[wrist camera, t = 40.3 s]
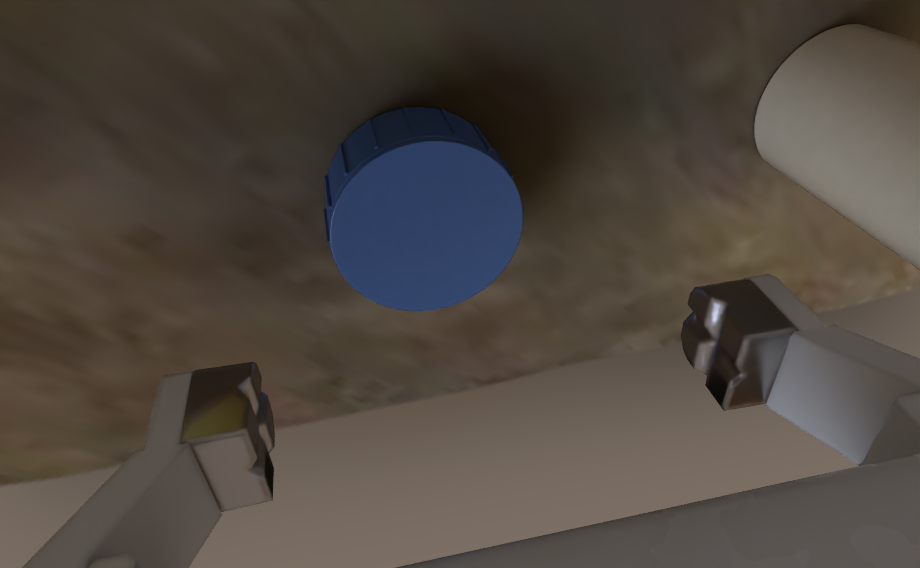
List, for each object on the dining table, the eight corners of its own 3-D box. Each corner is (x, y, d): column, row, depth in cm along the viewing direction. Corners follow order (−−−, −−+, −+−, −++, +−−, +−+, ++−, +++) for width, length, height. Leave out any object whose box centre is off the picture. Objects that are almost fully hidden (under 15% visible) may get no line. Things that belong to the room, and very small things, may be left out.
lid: (405, 294, 23) (417, 341, 21) (283, 191, 19) (283, 234, 17) (533, 193, 21) (559, 232, 19) (426, 64, 18) (444, 95, 16)
